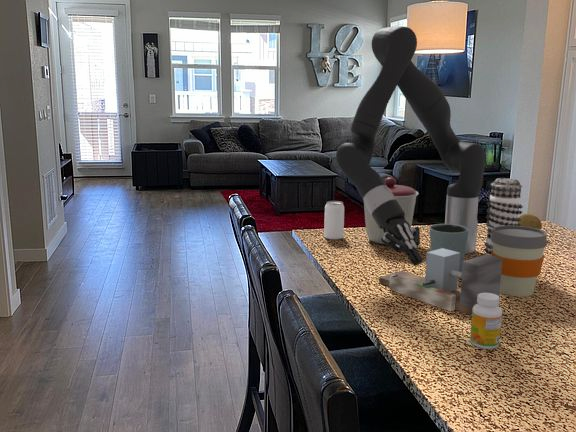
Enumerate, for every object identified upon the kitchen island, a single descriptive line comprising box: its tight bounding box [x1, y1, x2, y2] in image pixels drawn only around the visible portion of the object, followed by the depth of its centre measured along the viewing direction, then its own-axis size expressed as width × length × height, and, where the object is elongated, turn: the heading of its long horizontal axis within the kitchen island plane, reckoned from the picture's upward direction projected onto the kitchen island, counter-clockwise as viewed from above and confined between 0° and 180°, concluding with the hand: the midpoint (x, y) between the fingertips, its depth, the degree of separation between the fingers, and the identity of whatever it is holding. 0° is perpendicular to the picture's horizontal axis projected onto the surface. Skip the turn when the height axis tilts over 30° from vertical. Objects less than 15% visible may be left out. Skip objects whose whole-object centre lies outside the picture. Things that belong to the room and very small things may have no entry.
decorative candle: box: [483, 177, 524, 255], centre depth 153 cm, size 9×9×25 cm
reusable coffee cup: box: [491, 226, 548, 297], centre depth 137 cm, size 13×13×15 cm
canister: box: [363, 177, 420, 245], centre depth 182 cm, size 18×18×21 cm
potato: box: [518, 213, 543, 230], centre depth 190 cm, size 7×8×8 cm
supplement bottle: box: [469, 293, 503, 350], centre depth 108 cm, size 5×5×10 cm
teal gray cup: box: [429, 223, 469, 273], centre depth 153 cm, size 10×10×12 cm
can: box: [323, 200, 345, 241], centre depth 187 cm, size 6×6×12 cm
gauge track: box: [378, 254, 503, 316], centre depth 134 cm, size 28×11×12 cm, turn 38°
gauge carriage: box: [423, 248, 462, 292], centre depth 131 cm, size 8×10×9 cm
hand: (418, 263), depth 138 cm, fingers closed
